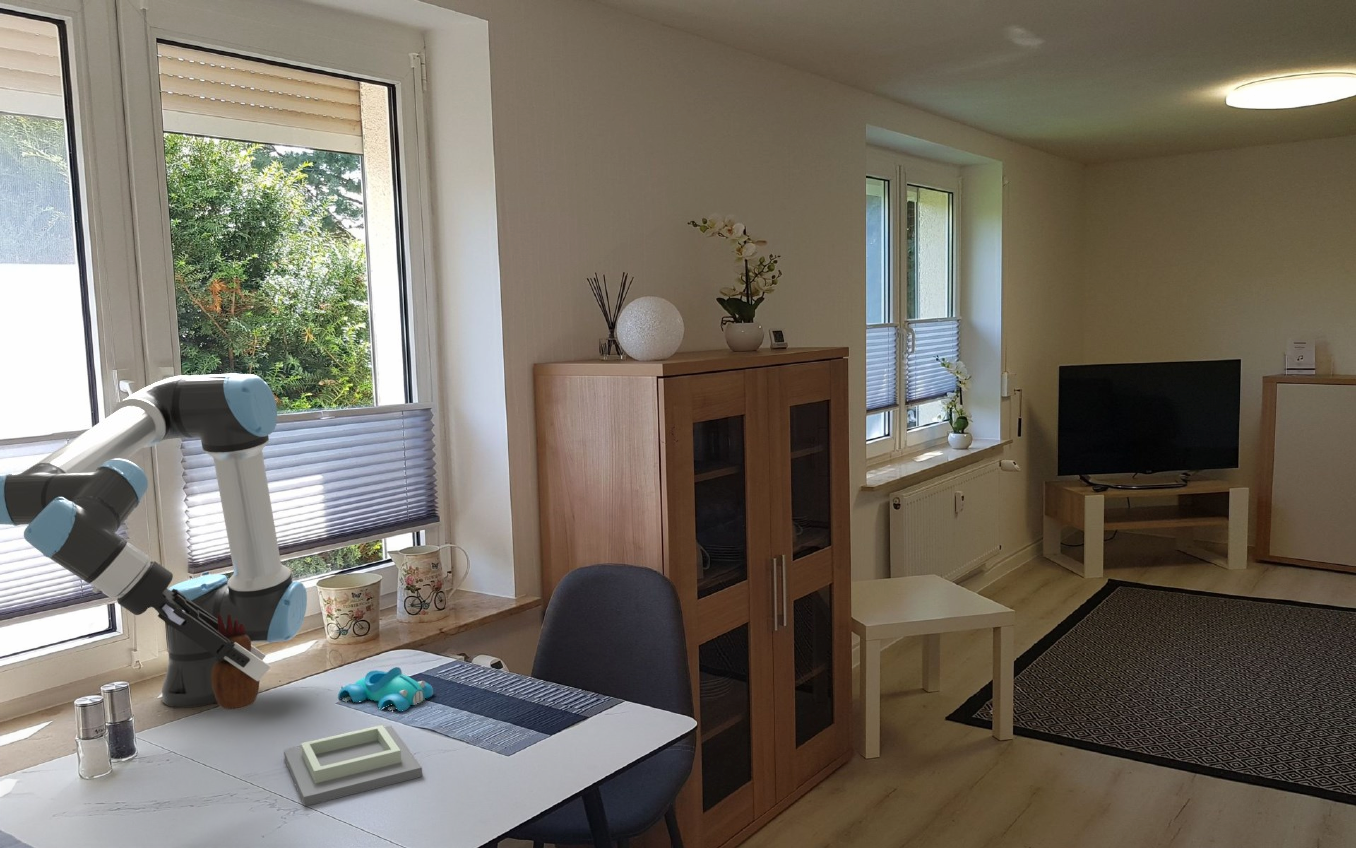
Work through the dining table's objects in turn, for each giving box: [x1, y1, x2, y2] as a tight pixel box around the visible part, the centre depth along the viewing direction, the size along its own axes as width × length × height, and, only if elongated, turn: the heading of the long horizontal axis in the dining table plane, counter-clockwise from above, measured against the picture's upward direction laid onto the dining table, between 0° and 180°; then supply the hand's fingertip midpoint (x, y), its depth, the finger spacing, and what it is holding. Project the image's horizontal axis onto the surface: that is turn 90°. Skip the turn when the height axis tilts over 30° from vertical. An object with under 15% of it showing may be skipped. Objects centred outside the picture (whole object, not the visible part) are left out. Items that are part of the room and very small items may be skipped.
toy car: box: [337, 666, 434, 712], centre depth 197 cm, size 11×18×7 cm, turn 62°
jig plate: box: [283, 724, 423, 807], centre depth 166 cm, size 20×18×4 cm
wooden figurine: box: [211, 614, 261, 710], centre depth 155 cm, size 7×6×15 cm
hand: (261, 667), depth 157 cm, fingers closed on wooden figurine, 5 cm apart
